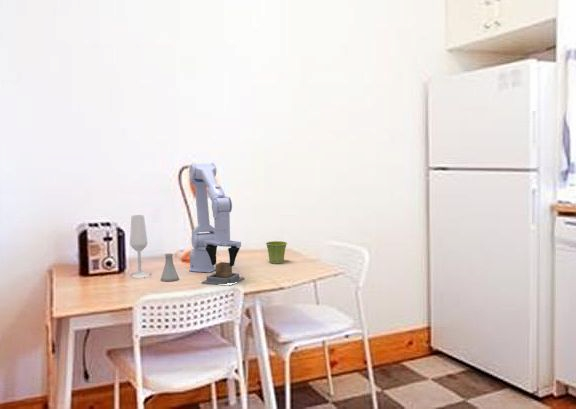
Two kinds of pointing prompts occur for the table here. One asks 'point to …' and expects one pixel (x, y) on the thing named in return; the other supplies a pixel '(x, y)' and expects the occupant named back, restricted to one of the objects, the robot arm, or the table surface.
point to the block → (223, 270)
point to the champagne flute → (138, 240)
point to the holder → (222, 279)
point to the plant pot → (276, 251)
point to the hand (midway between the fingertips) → (222, 265)
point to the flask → (169, 269)
